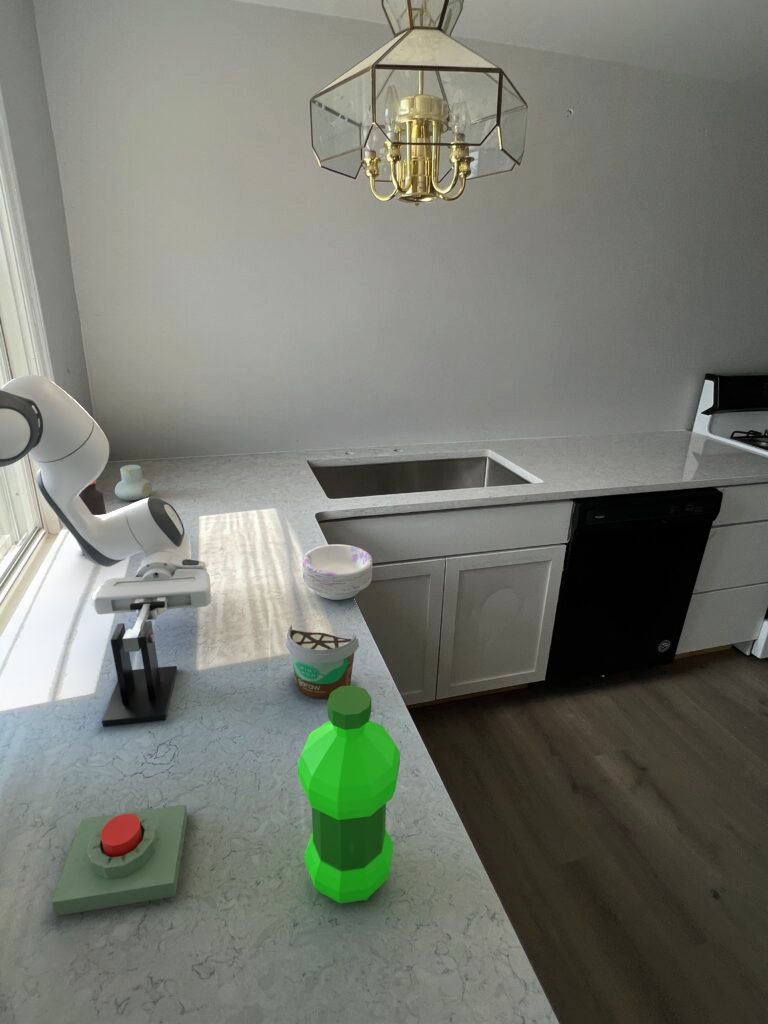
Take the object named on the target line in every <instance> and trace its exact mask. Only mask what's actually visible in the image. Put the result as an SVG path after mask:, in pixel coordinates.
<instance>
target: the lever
mask: <svg viewBox="0 0 768 1024" xmlns="http://www.w3.org/2000/svg"><path fill="white" fill-rule="evenodd" d="M157 608H165V601H157V602H143V603H131V604H130V610H141V611H140V614H139V616H137V619H136V621H135V623H134V625H133V628H127V629H125V631H126V632H125V634H124V636H123V638H122V640H123V646H124V652H129V653H132V652H141V648H140V641H139V636H140V633H141V630H142V628H143V625H144V622H146V621H148V620H147V617H148V615H149V612H150V610H151V609H157Z"/></svg>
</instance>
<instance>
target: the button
mask: <svg viewBox="0 0 768 1024" xmlns="http://www.w3.org/2000/svg"><path fill="white" fill-rule="evenodd" d="M141 837H142V831H141V826H140V821H139V819H138V817H137V816H135V815H133V814H122V815H119V816H116V817H114V818H113V819H111V820H110V821H109V822H108V823H107V824H106V825H105V826H104V828H103V830H102V832H101V841H102V845H103V849H104V851H105V853H106V854H107V855H109V856H113V857H118V856H122V855H125V854H127V853H129V852H131V851H132V850H133V849H134V848H135V847H136V846H137V845H138V844H139V842H140V840H141Z"/></svg>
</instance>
